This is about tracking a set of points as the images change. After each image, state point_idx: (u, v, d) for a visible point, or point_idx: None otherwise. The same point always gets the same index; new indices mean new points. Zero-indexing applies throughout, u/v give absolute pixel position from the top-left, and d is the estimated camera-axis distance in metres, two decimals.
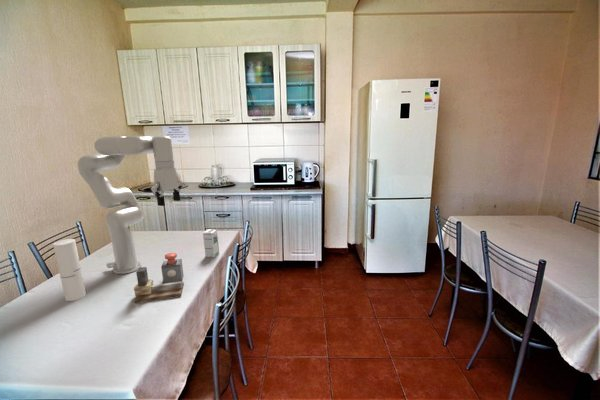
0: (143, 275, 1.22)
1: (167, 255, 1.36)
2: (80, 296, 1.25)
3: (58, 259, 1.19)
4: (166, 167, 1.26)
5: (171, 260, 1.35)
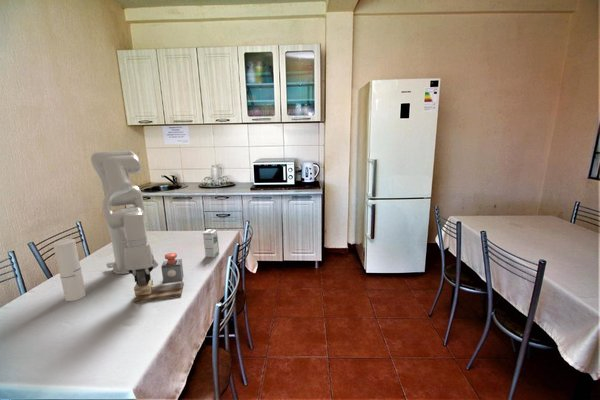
0: (143, 275, 1.22)
1: (167, 255, 1.36)
2: (80, 296, 1.25)
3: (58, 259, 1.19)
4: None
5: (171, 260, 1.35)
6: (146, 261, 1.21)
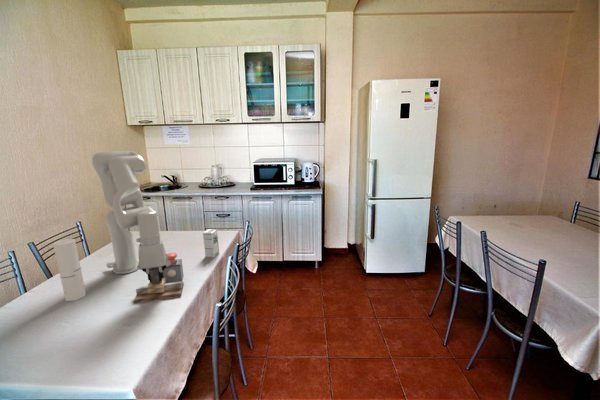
0: (156, 273, 1.24)
1: (167, 255, 1.36)
2: (80, 296, 1.25)
3: (58, 259, 1.19)
4: None
5: (171, 260, 1.35)
6: (159, 259, 1.22)
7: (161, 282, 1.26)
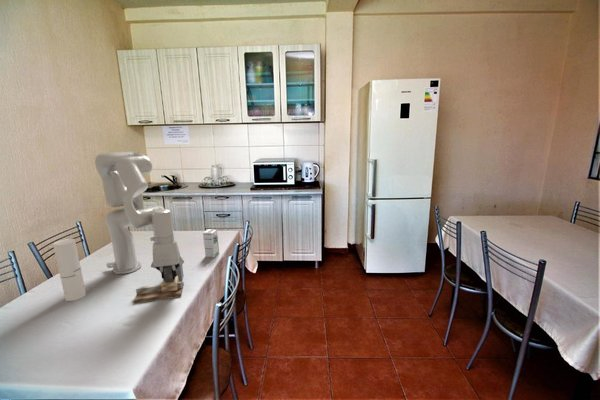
0: (170, 272, 1.25)
1: None
2: (80, 296, 1.25)
3: (58, 259, 1.19)
4: None
5: None
6: (173, 258, 1.23)
7: (174, 280, 1.27)
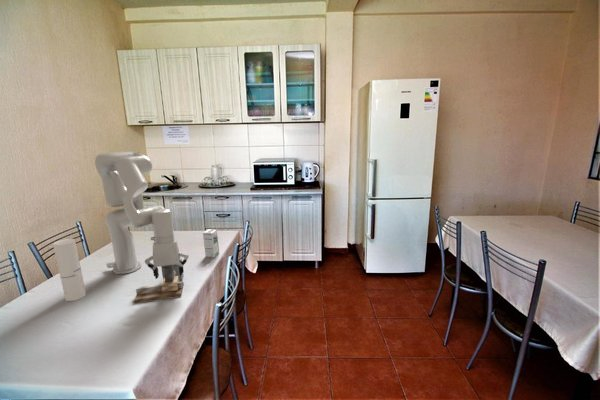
0: (170, 272, 1.25)
1: None
2: (80, 296, 1.25)
3: (58, 259, 1.19)
4: None
5: None
6: (173, 258, 1.23)
7: (174, 280, 1.27)
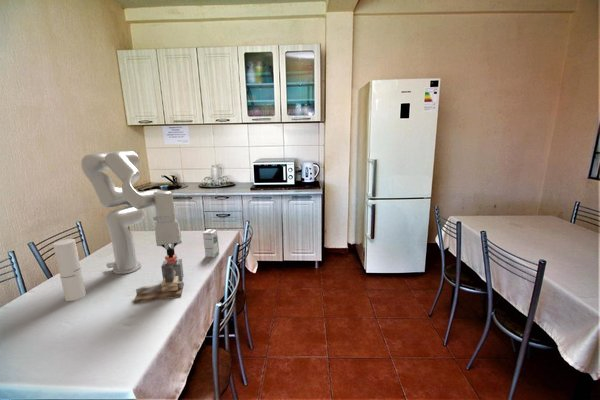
0: (170, 272, 1.25)
1: (167, 256, 1.36)
2: (80, 296, 1.25)
3: (58, 259, 1.19)
4: None
5: (171, 261, 1.36)
6: (174, 236, 1.32)
7: (174, 280, 1.27)
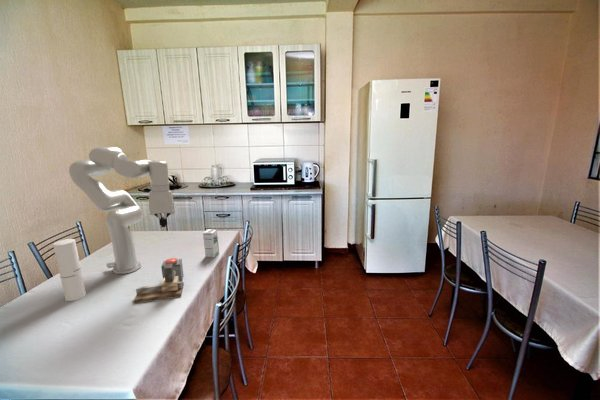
0: (170, 272, 1.25)
1: (168, 260, 1.36)
2: (80, 296, 1.25)
3: (58, 259, 1.19)
4: None
5: None
6: (167, 206, 1.34)
7: (174, 280, 1.27)
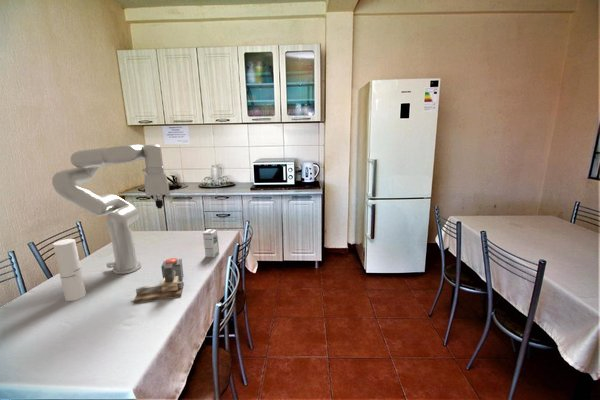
0: (170, 272, 1.25)
1: (168, 260, 1.36)
2: (80, 296, 1.25)
3: (58, 259, 1.19)
4: None
5: None
6: (163, 187, 1.41)
7: (174, 280, 1.27)
